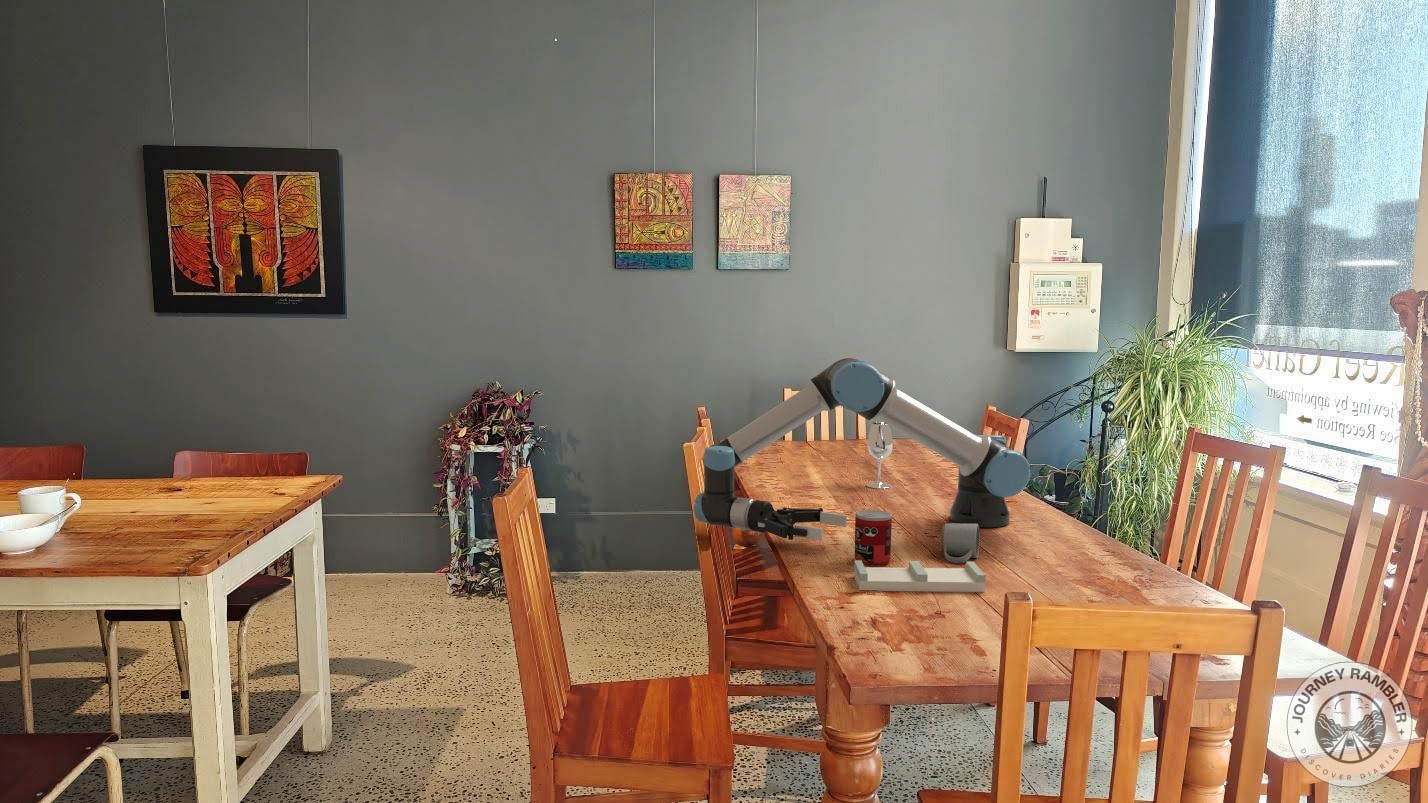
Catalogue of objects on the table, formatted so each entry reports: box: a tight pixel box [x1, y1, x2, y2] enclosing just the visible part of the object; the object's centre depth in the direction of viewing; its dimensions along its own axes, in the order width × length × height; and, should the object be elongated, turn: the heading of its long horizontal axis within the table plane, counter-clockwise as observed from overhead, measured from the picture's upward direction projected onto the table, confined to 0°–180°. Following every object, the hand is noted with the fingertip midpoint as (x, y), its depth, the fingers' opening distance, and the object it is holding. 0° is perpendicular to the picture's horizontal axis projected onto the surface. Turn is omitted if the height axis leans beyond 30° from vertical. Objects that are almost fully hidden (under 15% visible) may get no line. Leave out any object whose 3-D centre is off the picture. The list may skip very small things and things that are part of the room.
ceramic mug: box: [940, 522, 981, 564], centre depth 195 cm, size 11×8×8 cm
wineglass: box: [866, 421, 894, 490], centre depth 268 cm, size 8×8×20 cm
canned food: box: [854, 509, 893, 567], centre depth 192 cm, size 8×8×11 cm
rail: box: [853, 559, 986, 593], centre depth 177 cm, size 25×9×4 cm, turn 88°
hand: (834, 527), depth 196 cm, fingers open, 13 cm apart
